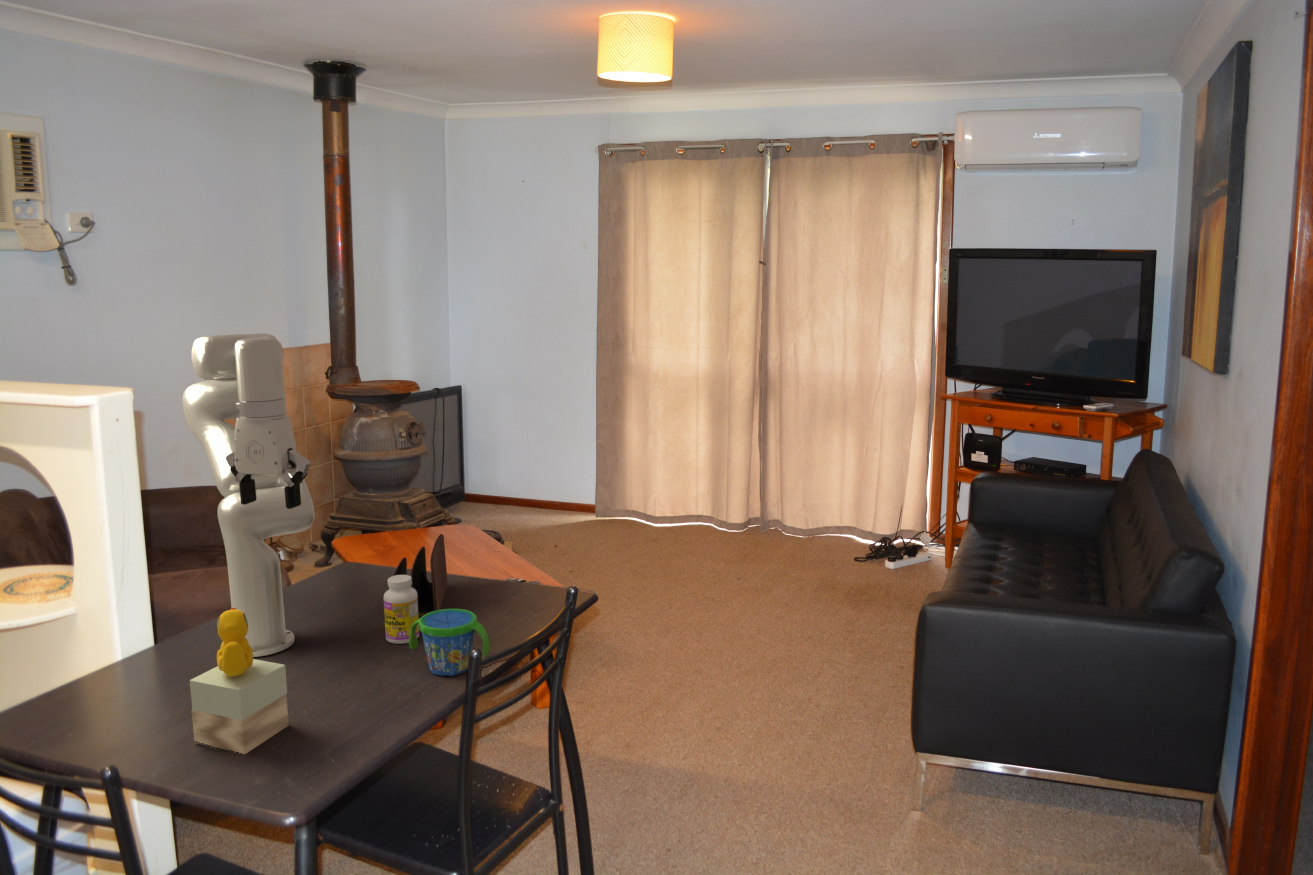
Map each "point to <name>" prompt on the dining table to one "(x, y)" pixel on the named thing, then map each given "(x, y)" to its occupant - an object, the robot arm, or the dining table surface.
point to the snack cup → (448, 639)
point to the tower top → (238, 690)
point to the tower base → (241, 727)
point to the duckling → (233, 643)
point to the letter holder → (426, 592)
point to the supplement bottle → (400, 609)
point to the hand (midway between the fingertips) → (271, 504)
